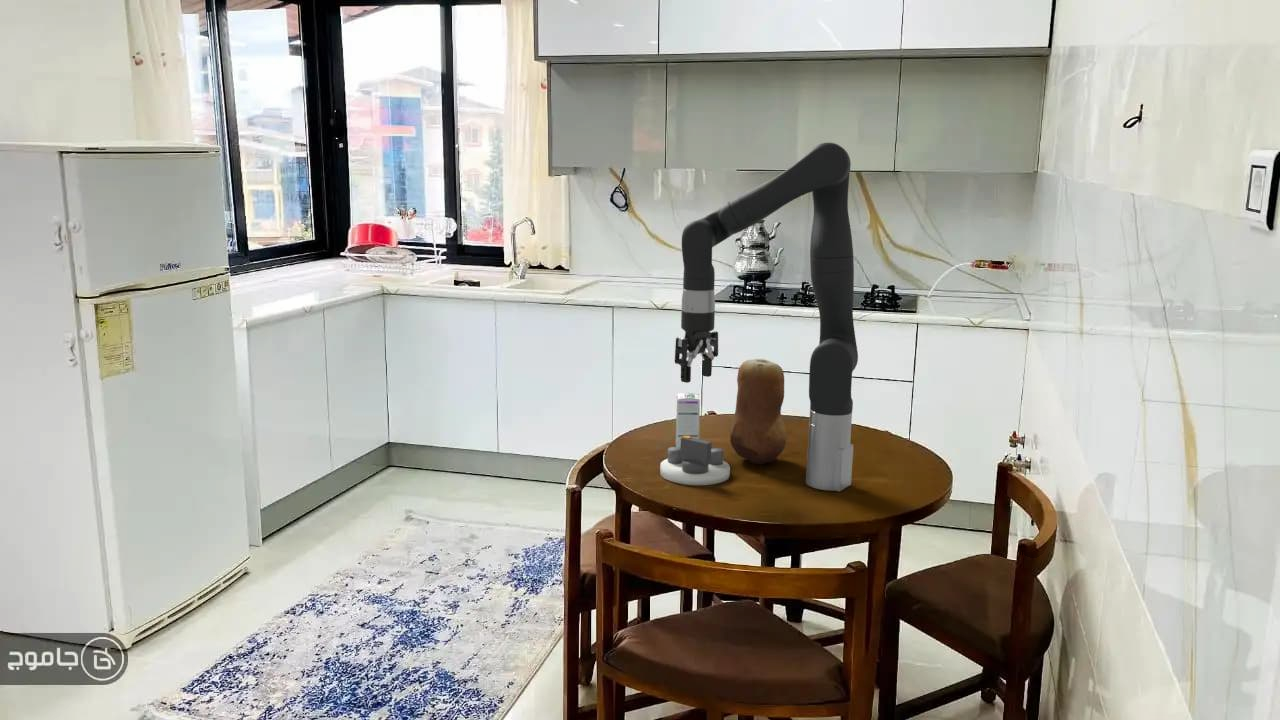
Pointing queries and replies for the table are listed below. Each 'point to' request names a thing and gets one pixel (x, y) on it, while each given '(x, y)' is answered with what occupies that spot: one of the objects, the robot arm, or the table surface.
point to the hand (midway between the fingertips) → (696, 379)
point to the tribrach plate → (715, 474)
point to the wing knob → (695, 455)
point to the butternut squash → (759, 412)
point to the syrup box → (687, 416)
